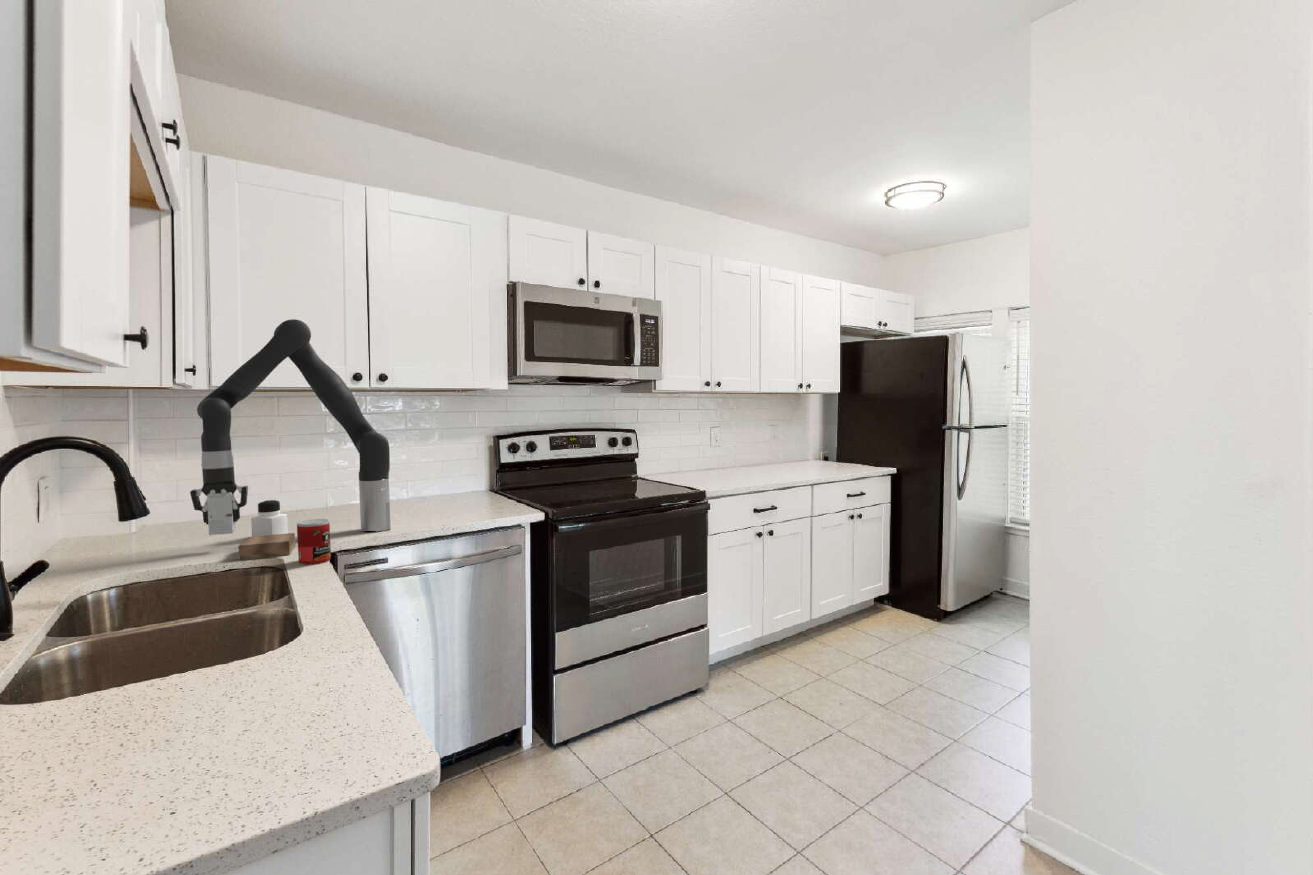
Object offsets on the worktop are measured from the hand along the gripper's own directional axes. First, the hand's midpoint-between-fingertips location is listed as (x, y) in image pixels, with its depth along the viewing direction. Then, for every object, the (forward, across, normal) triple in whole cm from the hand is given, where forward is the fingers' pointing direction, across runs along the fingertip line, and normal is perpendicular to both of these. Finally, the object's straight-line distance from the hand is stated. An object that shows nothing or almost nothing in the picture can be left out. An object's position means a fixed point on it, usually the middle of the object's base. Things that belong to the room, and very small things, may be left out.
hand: (222, 522), depth 177 cm
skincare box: (+3, 0, 0) cm, 3 cm away
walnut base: (+9, -12, +9) cm, 18 cm away
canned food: (+9, -26, +26) cm, 38 cm away
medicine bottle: (+9, -10, -14) cm, 19 cm away
